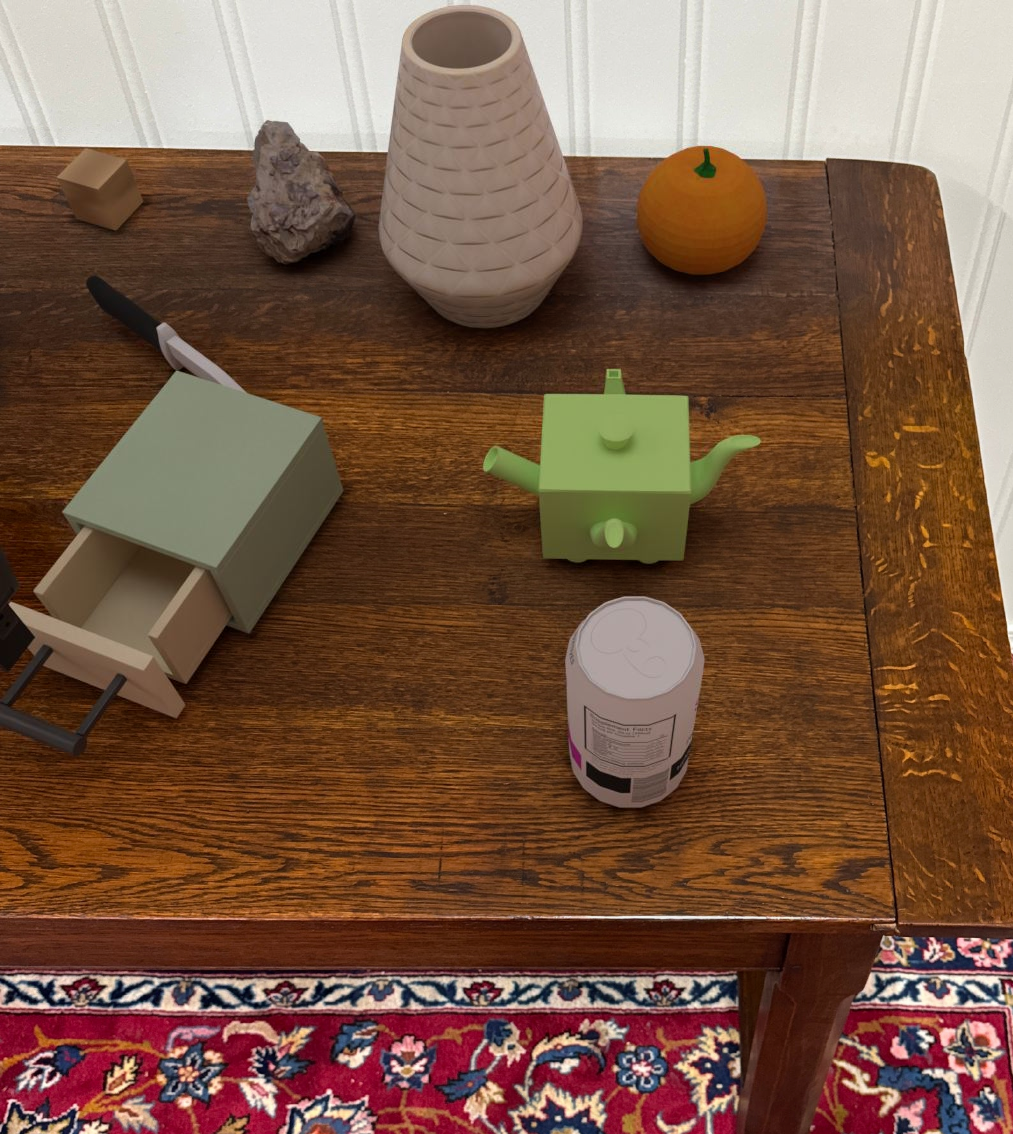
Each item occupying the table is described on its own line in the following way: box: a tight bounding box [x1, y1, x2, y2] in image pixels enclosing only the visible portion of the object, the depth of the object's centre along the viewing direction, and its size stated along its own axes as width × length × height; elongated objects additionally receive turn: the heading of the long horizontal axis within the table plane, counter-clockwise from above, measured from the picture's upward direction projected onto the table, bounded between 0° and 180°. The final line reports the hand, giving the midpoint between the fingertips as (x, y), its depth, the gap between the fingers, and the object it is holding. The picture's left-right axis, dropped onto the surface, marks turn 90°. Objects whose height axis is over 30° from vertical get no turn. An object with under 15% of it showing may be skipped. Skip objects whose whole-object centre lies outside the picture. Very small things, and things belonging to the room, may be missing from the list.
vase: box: [377, 4, 584, 329], centre depth 93 cm, size 17×17×23 cm
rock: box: [246, 119, 357, 265], centre depth 103 cm, size 9×12×10 cm
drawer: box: [0, 526, 233, 758], centre depth 80 cm, size 20×11×7 cm, turn 157°
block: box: [56, 147, 144, 232], centre depth 107 cm, size 5×5×5 cm
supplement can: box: [564, 595, 706, 808], centre depth 72 cm, size 8×8×15 cm
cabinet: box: [61, 370, 344, 634], centre depth 85 cm, size 15×13×9 cm
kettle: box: [482, 368, 762, 565], centre depth 84 cm, size 15×14×11 cm
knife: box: [85, 275, 247, 393], centre depth 95 cm, size 25×2×5 cm, turn 50°
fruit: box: [636, 145, 768, 276], centre depth 101 cm, size 12×12×10 cm
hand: (11, 650), depth 70 cm, fingers closed
